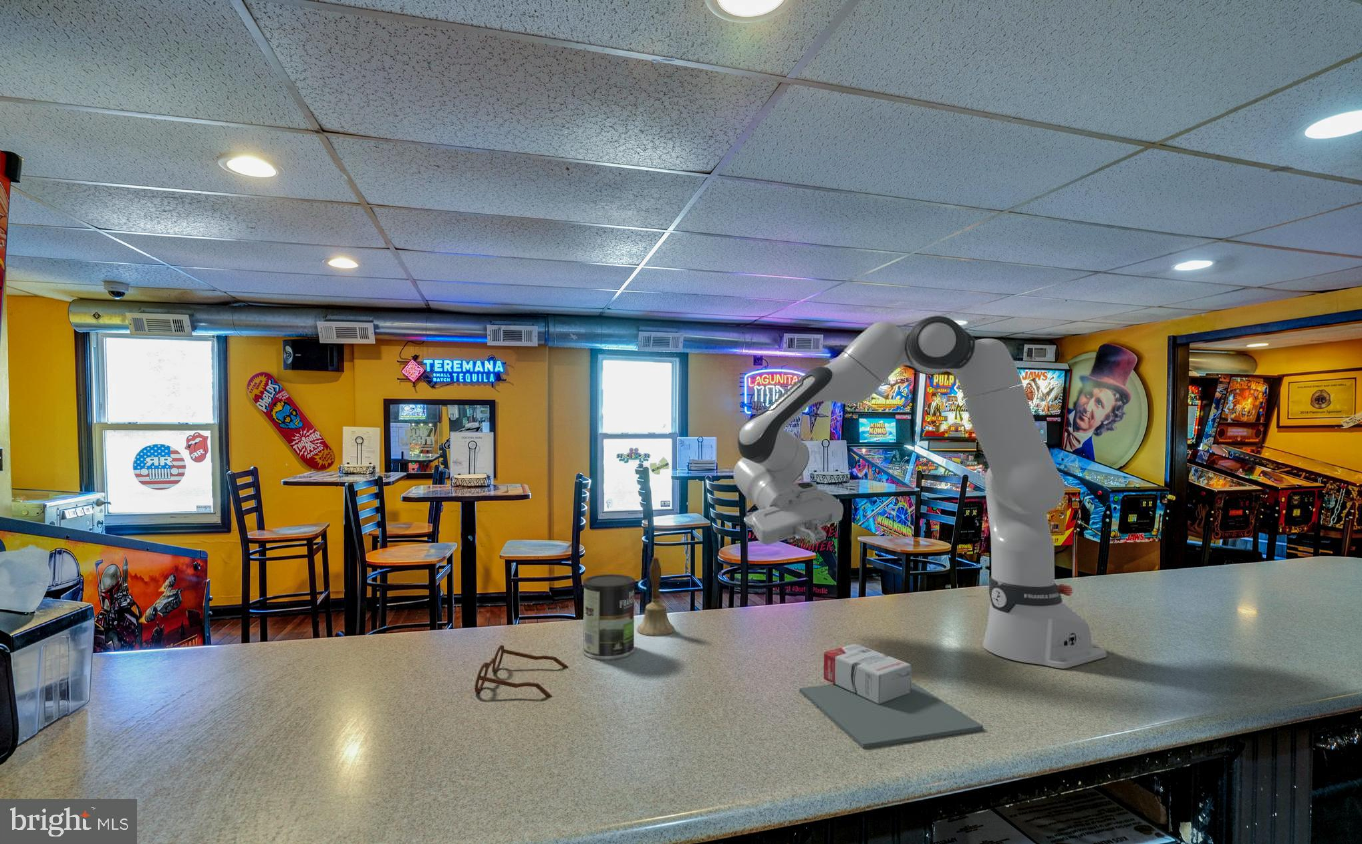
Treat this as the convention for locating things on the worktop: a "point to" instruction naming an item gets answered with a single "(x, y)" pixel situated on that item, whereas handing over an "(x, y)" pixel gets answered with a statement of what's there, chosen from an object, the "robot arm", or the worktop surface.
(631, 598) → the coffee can
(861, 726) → the rubber mat
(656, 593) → the hand bell
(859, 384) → the robot arm
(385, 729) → the worktop surface
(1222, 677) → the worktop surface
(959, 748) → the worktop surface
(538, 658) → the glasses
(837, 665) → the ink box
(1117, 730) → the worktop surface
